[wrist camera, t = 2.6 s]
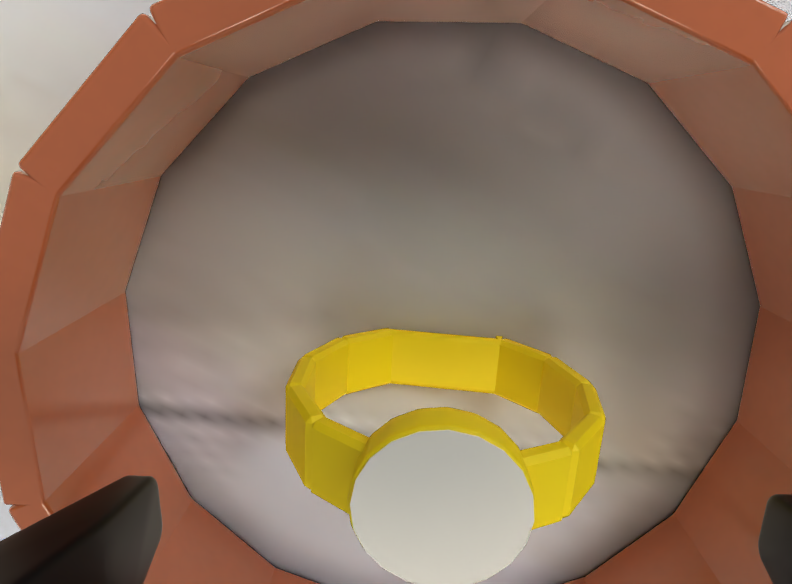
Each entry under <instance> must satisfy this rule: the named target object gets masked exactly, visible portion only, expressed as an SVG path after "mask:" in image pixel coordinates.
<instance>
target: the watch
mask: <svg viewBox="0 0 792 584" xmlns="http://www.w3.org/2000/svg"><path fill="white" fill-rule="evenodd" d="M389 383H392V384H402V385H412V386H422V387H432V388H442V389H452V390H462V391H472V392H482V393H492V394H496V395H498V396H500V397H503V398H505V399H507V400H509V401H512V402H514V403H516V404H518V405H521V406H523V407H525V408H527V409H529V410H532V411H534V412H536V413H539V414H540V415H541V416H542V417H543V418H544V419H545V420H546V421H548V422H549V423H550V424H551V425H552V426H553V427H554V428H555V429H556V430H557V431H558V432H559V433H560V434H561V435H563V437H562V438H561V439H560V440H559V441H558V442H554V443H550V444H546V445H542V446H537V447H533V448H529V449H524V450H520V449H519V448H518V446H517V445H516V444H515V443H514V442H513V441H512V440H511V438H510V437H509V436H508V435H507V434H506V433H505V432H504V431H503V430H502V429H501V428H500V427H499V426H497V425H495V424H494V423H492V422H490V421H488V420H487V419H485V418H483V417H481V416H479V415H478V414H475V413H472V412H468V411H463V410H459V409H454V408H450V407H438V408H422V409H417V410H414V411H411V412H408V413H405V414H403V415H400V416H397V417H395V418H393V419H391V420H390V421H388V422H387V423H386V424H384V425H383V426H382V427H380V428H379V429H378V430H377V431H375V432H374V433H373V434H372V435H371V436H370V437H367V436H365V435H362V434H360V433H358V432H356V431H354V430H352V429H350V428H347V427H345V426H343V425H341V424H339V423H337V422H335V421H332V420H330V419H328V418H326V417H325V415H324V414H323V412H322V411H321V410H322V409H324V408H325V407H327V406H328V405H330V404H331V403H333V402H334V401H336V400H337V399H339V398H340V397H341V396H343V395H344V394H349V393H353V392H357V391H361V390H365V389H369V388H373V387H378V386H382V385H386V384H389ZM605 420H606V417H605V414H604V411H603V409H602V406H601V403H600V400H599V397H598V394H597V391H596V389H595V388H594V386H593V385H592V384H591V383H590V382H589V381H588V380H587V379H586V378H584V377H583V376H581V375H580V374H579V373H577V372H576V371H575V370H573V369H572V368H570V367H569V366H568V365H566V364H565V363H563V362H562V361H561V360H559V359H558V358H557V357H552V356H551V354H548V353H545V352H542V351H540V350H537V349H534V348H531V347H529V346H526V345H523V344H520V343H518V342H515V341H512V340H509V339H503V336H496V338H485V337H474V336H463V335H452V334H441V333H430V332H419V331H408V330H397V329H389V328H384V329H378V330H373V331H367V332H361V333H356V334H350V335H345V336H343V337H342V338H339V337H338V338H336V339H334V340H332V341H330V342H328V343H326V344H324V345H322V346H320V347H318V348H317V349H315V350H313V351H311V352H309V353H307V354H305V355H304V356H303V357H302V358H301V359H299V360H298V362H297V364H296V366H295V368H294V370H293V372H292V374H291V376H290V378H289V380H288V382H287V385H286V440H285V444H286V451H287V453H288V455H289V457H290V459H291V461H292V462H293V464H294V466H295V468H296V470H297V472H298V474H299V476H300V478H301V480H302V482H303V484H304V486H306V487H307V488H309V489H311V492H312V493H314V494H315V495H317V496H319V497H320V498H322V499H324V500H326V501H327V502H329V503H331V504H332V505H334V506H336V507H338V508H339V509H341V510H343V511H345V512H346V513H348V514H349V516H350V522H351V526H352V528H353V530H354V532H355V534H356V536H357V538H358V540H359V542H360V544H361V545H362V547H363V548H364V550H365V552H366V553H367V554H368V555H369V556H371V557H372V558H373V559H374V560H375V561H376V562H377V563H378V564H379V565H380V566H381V567H382V568H383V569H384V570H386V571H388V572H390V573H392V574H394V575H395V576H397V577H399V578H401V579H403V580H405V581H407V582H410V583H415V584H474V583H477V582H480V581H483V580H487V579H489V578H491V577H492V576H494V575H495V574H497V573H498V572H500V571H501V570H503V569H504V568H506V567H507V566H509V565H510V564H511V563H512V562H513V561H514V559H515V558H516V557H517V556H518V554H519V553H520V552H521V551H522V549H523V548H524V547H525V546H526V544H527V541H528V538H529V535H530V532H531V530H533V529H536V528H539V527H543V526H546V525H549V524H552V523H555V522H559V521H561V519H562V518H564V517H567V516H569V515H570V514H571V513H572V511H573V510H574V509H575V507H576V506H577V505H578V503H579V502H580V501H581V500H582V498H583V497H584V496H585V494H586V493H587V492H588V490H589V489H590V488H591V487H592V485H593V484H594V481H595V476H596V471H597V465H598V459H599V454H600V448H601V442H602V437H603V431H604V425H605Z"/></svg>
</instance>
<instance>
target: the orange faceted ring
mask: <svg viewBox="0 0 792 584" xmlns="http://www.w3.org/2000/svg"><path fill="white" fill-rule="evenodd" d="M150 12H151V14H152V16H153V17H151V16H148V15H146V14H144V13H142V14H140V15H139V16H138V17H137V18H136V19H135V21H134V22H133V23H132V24H131V25H130V27H129V28H128V29H127V30H126V32H125V33H124V34H123V35H122V37H121V38H120V39H119V40H118V41H117V43H116V44H115V45H114V46H113V48H112V49H111V50H110V51H109V52H108V54H107V55H106V56H105V57H104V59H103V60H102V61H101V62H100V64H99V65H98V66H97V67H96V68H95V70H94V71H93V72H92V73H91V75H90V76H89V77H88V78H87V79H86V81H85V82H84V83H83V84H82V86H81V87H80V88H79V89H78V91H77V92H76V93H75V94H74V95H73V97H72V98H71V99H70V100H69V102H68V103H67V104H66V105H65V107H64V108H63V109H62V110H61V111H60V113H59V114H58V115H57V116H56V118H55V119H54V120H53V121H52V122H51V124H50V125H49V126H48V127H47V129H46V130H45V131H44V132H43V134H42V135H41V136H40V137H39V138H38V140H37V141H36V142H35V143H34V145H33V146H32V147H31V148H30V150H29V151H28V152H27V153H26V154H25V156H24V157H23V158H22V159H21V161H20V162H19V166H20V168H21V169H22V170H23V171H16V172H14V173H13V175H12V179H11V183H10V187H9V192H8V196H7V200H6V204H5V209H4V213H3V217H2V221H1V225H0V486H1V491H2V496H3V501H4V503H5V504H6V505H12V506H11V507H10V509H9V513H10V515H11V516H12V518H13V519H14V521H15V522H16V524H17V525H18V527H19V528H20V530H23V529H25V528H27V527H29V526H31V525H32V524H34V523H36V522H38V521H40V520H42V519H44V518H46V517H48V516H50V515H52V514H53V513H55V512H57V511H59V510H61V509H63V508H65V507H67V506H69V505H71V504H73V503H75V502H76V501H78V500H80V499H82V498H84V497H86V496H88V495H90V494H92V493H94V492H96V491H98V490H99V489H101V488H103V487H105V486H107V485H109V484H111V483H113V482H115V481H117V480H119V479H121V478H122V477H125V476H129V475H134V476H152V477H153V478H155V479H156V481H157V484H158V489H159V498H160V507H161V515H162V534H161V538H160V541H159V544H158V547H157V549H156V552H155V554H154V557H153V560H152V562H151V565H150V567H149V570H148V572H147V575H146V578H145V580H144V583H143V584H319V583H316V582H313V581H311V580H308V579H305V578H302V577H300V576H297V575H294V574H292V573H289V572H286V571H284V570H281V569H278V568H275V567H274V566H273V565H272V564H270V563H269V562H268V561H267V560H266V559H264V558H263V557H262V556H261V555H260V554H258V553H257V552H256V551H255V550H254V549H252V548H251V547H250V546H249V545H247V544H246V543H245V542H244V541H243V540H241V539H240V538H239V537H238V536H237V535H235V534H234V533H233V532H232V531H231V530H229V529H228V528H227V527H226V526H225V525H223V524H222V523H221V522H220V521H218V520H217V519H216V518H215V517H214V516H212V515H211V514H210V513H209V512H208V511H206V510H205V509H204V508H203V507H202V506H200V505H199V504H198V503H197V502H196V501H194V500H193V499H192V498H191V496H190V495H189V493H188V491H187V489H186V487H185V486H184V484H183V482H182V480H181V479H180V477H179V475H178V473H177V472H176V470H175V468H174V466H173V464H172V463H171V461H170V459H169V457H168V456H167V454H166V452H165V450H164V449H163V447H162V445H161V443H160V442H159V440H158V438H157V436H156V434H155V433H154V431H153V429H152V427H151V426H150V424H149V422H148V420H147V419H146V417H145V415H144V413H143V412H142V410H141V408H140V406H139V401H138V393H137V384H136V376H135V368H134V359H133V351H132V343H131V334H130V326H129V318H128V309H127V301H126V293H125V290H126V287H127V284H128V281H129V277H130V274H131V271H132V268H133V265H134V261H135V258H136V255H137V252H138V248H139V245H140V242H141V239H142V235H143V232H144V229H145V226H146V223H147V219H148V216H149V213H150V210H151V206H152V203H153V200H154V197H155V193H156V190H157V187H158V184H159V181H160V177H161V175H162V174H163V173H164V172H165V171H166V169H167V168H168V167H169V166H170V165H171V164H172V163H173V162H174V161H175V159H176V158H177V157H178V156H179V155H180V154H181V153H182V152H183V150H184V149H185V148H186V147H187V146H188V145H189V144H190V143H191V141H192V140H193V139H194V138H195V137H196V136H197V135H198V134H199V133H200V131H201V130H202V129H203V128H204V127H205V126H206V125H207V124H208V122H209V121H210V120H211V119H212V118H213V117H214V116H215V115H216V114H217V112H218V111H219V110H220V109H221V108H222V107H223V106H224V105H225V103H226V102H227V101H228V100H229V99H230V98H231V97H232V96H233V94H234V93H235V92H236V91H237V90H238V89H239V88H240V87H241V86H242V84H243V83H244V82H245V81H246V80H247V79H248V78H249V77H251V76H253V75H256V74H258V73H260V72H262V71H265V70H267V69H269V68H272V67H274V66H276V65H278V64H281V63H283V62H285V61H288V60H290V59H292V58H294V57H297V56H299V55H301V54H303V53H306V52H308V51H310V50H313V49H315V48H317V47H319V46H322V45H324V44H326V43H329V42H331V41H333V40H335V39H338V38H340V37H342V36H344V35H347V34H349V33H351V32H354V31H356V30H358V29H360V28H363V27H365V26H367V25H369V24H372V23H374V22H376V21H391V22H474V23H523V24H525V25H527V26H529V27H531V28H533V29H535V30H537V31H539V32H541V33H544V34H546V35H548V36H550V37H552V38H554V39H556V40H558V41H560V42H562V43H564V44H567V45H569V46H571V47H573V48H575V49H577V50H579V51H581V52H583V53H585V54H588V55H590V56H592V57H594V58H596V59H598V60H600V61H602V62H604V63H606V64H609V65H611V66H613V67H615V68H617V69H619V70H621V71H623V72H625V73H627V74H630V75H632V76H634V77H636V78H638V79H640V80H642V81H644V82H646V83H648V84H649V85H650V87H651V88H652V89H653V90H654V92H655V93H656V94H657V95H658V97H659V98H660V99H661V100H662V102H663V103H664V104H665V105H666V106H667V108H668V109H669V110H670V111H671V113H672V114H673V115H674V116H675V118H676V119H677V120H678V121H679V122H680V124H681V125H682V126H683V127H684V129H685V130H686V131H687V132H688V134H689V135H690V136H691V137H692V139H693V140H694V141H695V142H696V143H697V145H698V146H699V147H700V148H701V150H702V151H703V152H704V153H705V155H706V156H707V157H708V158H709V159H710V161H711V162H712V163H713V164H714V166H715V167H716V168H717V169H718V171H719V172H720V173H721V174H722V176H723V177H724V178H725V179H726V180H727V182H728V183H729V184H730V185H731V187H732V189H733V194H734V198H735V202H736V206H737V210H738V215H739V219H740V223H741V227H742V231H743V236H744V240H745V244H746V248H747V253H748V257H749V261H750V265H751V269H752V274H753V278H754V282H755V286H756V290H757V295H758V299H759V303H760V307H759V312H758V317H757V322H756V327H755V332H754V337H753V342H752V347H751V352H750V357H749V362H748V367H747V372H746V377H745V382H744V387H743V392H742V397H741V402H740V407H739V412H738V417H737V420H736V422H735V423H734V425H733V426H732V428H731V429H730V431H729V432H728V434H727V435H726V437H725V438H724V440H723V441H722V443H721V444H720V446H719V447H718V449H717V450H716V452H715V453H714V454H713V456H712V457H711V459H710V460H709V462H708V463H707V465H706V466H705V468H704V469H703V471H702V472H701V474H700V475H699V477H698V478H697V480H696V481H695V483H694V484H693V486H692V487H691V489H690V490H689V491H688V493H687V494H686V496H685V497H684V499H683V500H682V502H681V503H680V505H679V506H678V508H677V509H676V511H675V512H674V514H673V515H671V516H670V517H668V518H667V519H666V520H664V521H663V522H661V523H660V524H659V525H657V526H656V527H654V528H653V529H652V530H650V531H649V532H647V533H646V534H645V535H643V536H642V537H640V538H639V539H637V540H636V541H635V542H633V543H632V544H630V545H629V546H628V547H626V548H625V549H623V550H622V551H621V552H619V553H618V554H616V555H615V556H614V557H612V558H611V559H609V560H608V561H606V562H605V563H604V564H602V565H601V566H599V567H598V568H597V569H595V570H594V571H592V572H591V573H590V574H588V575H587V576H585V577H583V578H579V579H576V580H572V581H569V582H565V583H562V584H773V583H772V581H771V579H770V577H769V575H768V573H767V571H766V568H765V566H764V564H763V562H762V560H761V558H760V554H759V549H758V540H759V535H760V531H761V526H762V522H763V517H764V513H765V509H766V504H767V501H768V500H769V498H770V497H771V496H773V495H775V494H792V20H791V21H787V22H785V20H786V18H787V16H788V14H787V13H786V12H785V11H783V10H781V9H779V8H777V7H775V6H773V5H771V4H769V3H767V2H765V1H763V0H161V1H159V2H156V3H154V4H152V5H151V6H150Z"/></svg>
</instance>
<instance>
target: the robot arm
mask: <svg viewBox="0 0 792 584" xmlns="http://www.w3.org/2000/svg"><path fill="white" fill-rule="evenodd" d="M161 534H162V515H161V507H160V498H159V489H158V484H157V481H156V479H155V478H153V477H152V476H134V475H129V476H125V477H122V478H121V479H119V480H117V481H115V482H113V483H111V484H109V485H107V486H105V487H103V488H101V489H99V490H98V491H96V492H94V493H92V494H90V495H88V496H86V497H84V498H82V499H80V500H78V501H76V502H75V503H73V504H71V505H69V506H67V507H65V508H63V509H61V510H59V511H57V512H55V513H53V514H52V515H50V516H48V517H46V518H44V519H42V520H40V521H38V522H36V523H34V524H32V525H31V526H29V527H27V528H25V529H23V530H21V531H19V532H17V533H15V534H13V535H11V536H9V537H8V538H6V539H4V540H2V541H0V584H143V583H144V580H145V578H146V575H147V572H148V570H149V567H150V565H151V562H152V560H153V557H154V554H155V552H156V549H157V547H158V544H159V541H160V538H161ZM758 549H759V554H760V558H761V560H762V562H763V564H764V566H765V568H766V571H767V573H768V575H769V577H770V579H771V581H772V583H773V584H792V494H775V495H773V496H771V497H770V498H769V500H768V501H767V504H766V509H765V513H764V517H763V522H762V526H761V531H760V535H759V540H758Z"/></svg>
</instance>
